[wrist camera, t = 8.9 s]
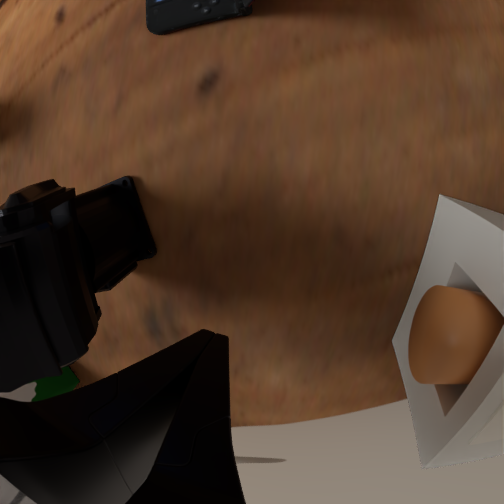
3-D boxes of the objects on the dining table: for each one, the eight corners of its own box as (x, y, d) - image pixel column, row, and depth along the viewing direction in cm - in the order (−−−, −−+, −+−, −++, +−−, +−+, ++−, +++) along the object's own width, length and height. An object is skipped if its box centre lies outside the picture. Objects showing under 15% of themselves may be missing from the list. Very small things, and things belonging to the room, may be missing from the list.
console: (391, 340, 21) (422, 473, 10) (439, 194, 17) (560, 271, 6) (457, 346, 21) (505, 457, 9) (509, 216, 16) (617, 291, 5)
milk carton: (48, 332, 30) (-49, 430, 12) (88, 386, 33) (10, 489, 14) (25, 339, 33) (-56, 419, 15) (59, 386, 35) (-9, 470, 17)
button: (401, 342, 16) (420, 404, 11) (431, 268, 14) (468, 320, 9) (452, 347, 15) (477, 402, 11) (483, 278, 13) (525, 326, 9)
